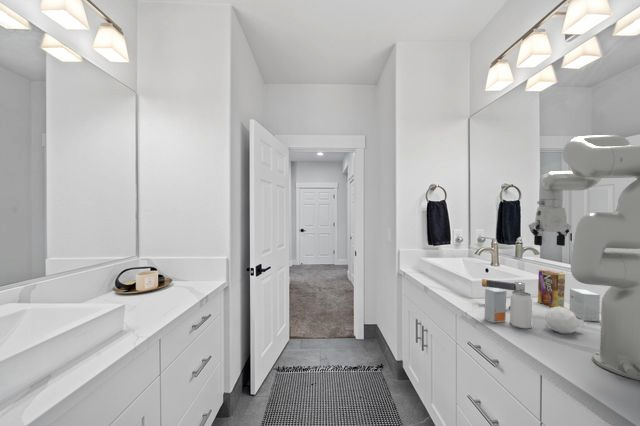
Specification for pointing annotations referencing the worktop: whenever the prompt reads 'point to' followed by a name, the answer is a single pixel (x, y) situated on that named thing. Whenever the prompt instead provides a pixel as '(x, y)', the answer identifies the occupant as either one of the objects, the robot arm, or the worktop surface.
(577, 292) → the small box
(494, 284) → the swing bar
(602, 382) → the worktop surface
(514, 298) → the can
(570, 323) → the white egg-shaped lump
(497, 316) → the skincare box
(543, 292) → the candy box
